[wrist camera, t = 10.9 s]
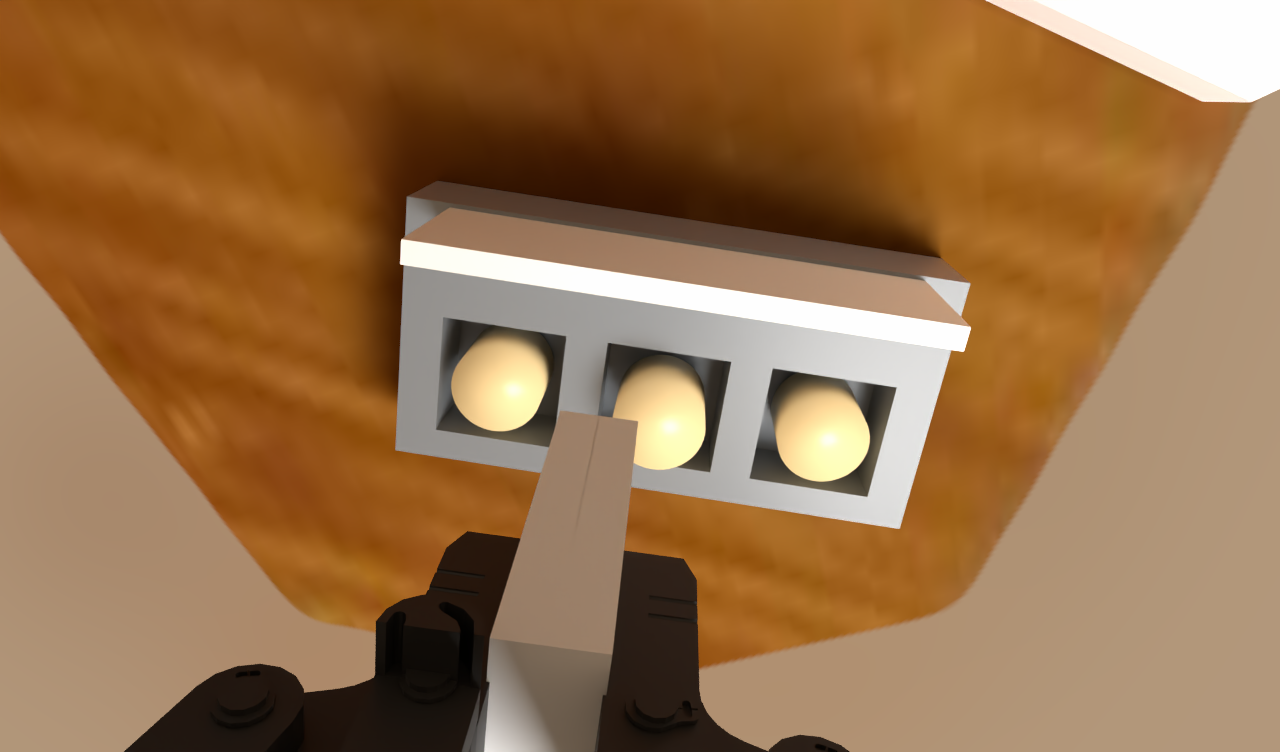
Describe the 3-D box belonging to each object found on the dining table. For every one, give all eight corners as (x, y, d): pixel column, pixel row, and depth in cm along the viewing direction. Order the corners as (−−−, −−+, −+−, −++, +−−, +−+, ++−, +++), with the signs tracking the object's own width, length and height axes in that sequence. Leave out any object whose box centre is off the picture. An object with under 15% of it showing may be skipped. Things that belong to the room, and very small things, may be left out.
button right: (763, 439, 46) (769, 474, 43) (779, 363, 45) (787, 392, 41) (845, 452, 46) (857, 487, 43) (864, 376, 45) (879, 406, 41)
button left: (468, 393, 47) (448, 423, 43) (474, 315, 45) (454, 340, 41) (549, 406, 46) (536, 437, 43) (558, 328, 45) (545, 354, 41)
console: (424, 411, 49) (343, 519, 38) (437, 180, 44) (349, 225, 33) (880, 482, 49) (934, 612, 38) (941, 258, 44) (1024, 330, 33)
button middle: (613, 427, 45) (606, 461, 41) (624, 348, 44) (617, 376, 40) (696, 440, 45) (697, 476, 41) (711, 362, 44) (713, 391, 40)
